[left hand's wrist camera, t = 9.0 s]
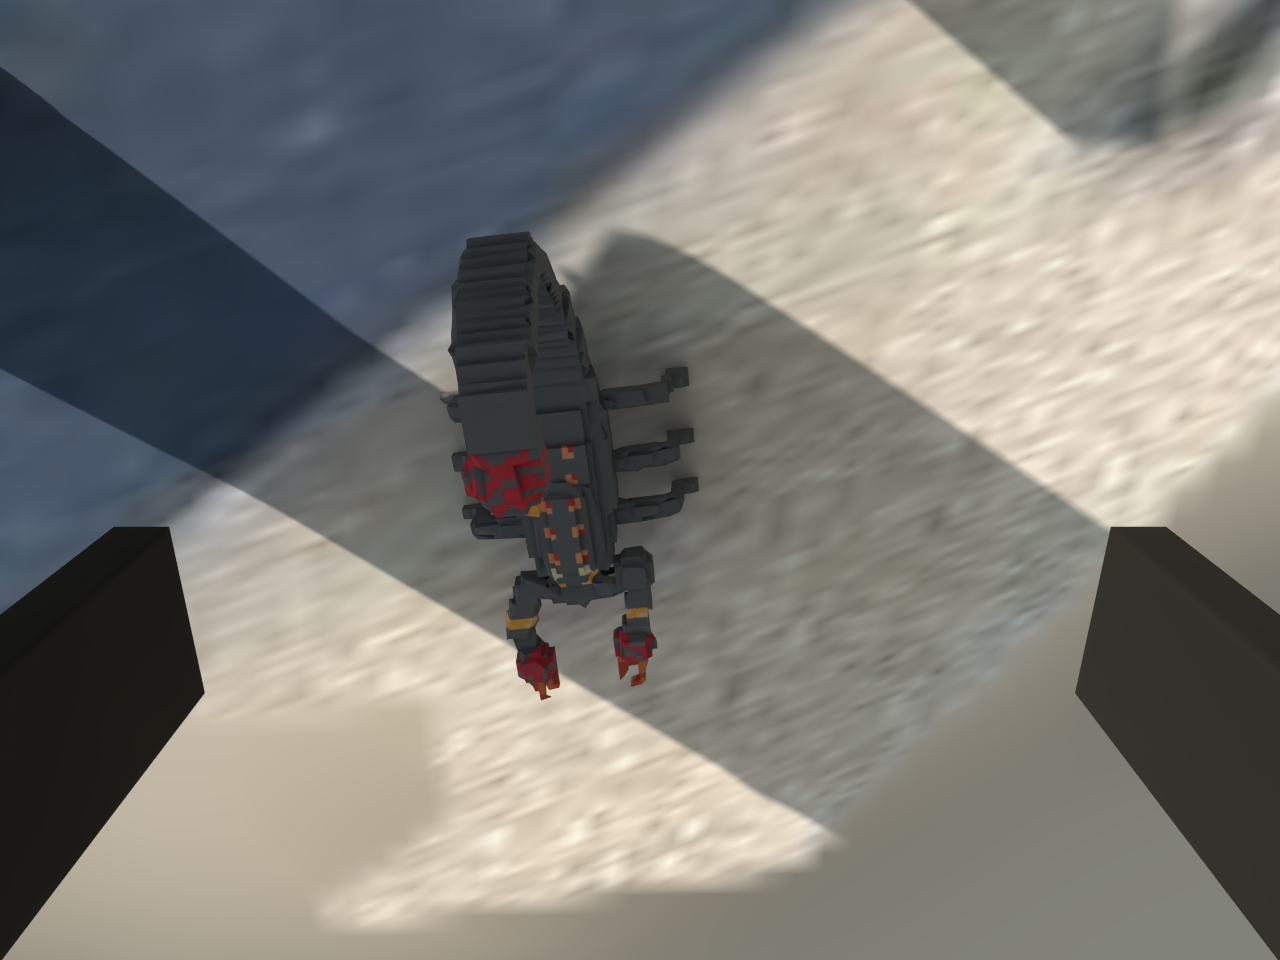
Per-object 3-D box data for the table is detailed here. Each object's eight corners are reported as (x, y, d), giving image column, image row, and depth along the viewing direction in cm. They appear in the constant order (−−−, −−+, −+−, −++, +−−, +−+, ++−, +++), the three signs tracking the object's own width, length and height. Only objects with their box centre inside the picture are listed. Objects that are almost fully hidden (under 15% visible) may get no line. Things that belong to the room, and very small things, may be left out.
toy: (671, 191, 45) (690, 235, 28) (713, 648, 55) (746, 886, 38) (407, 221, 45) (267, 282, 28) (496, 668, 55) (432, 912, 38)
